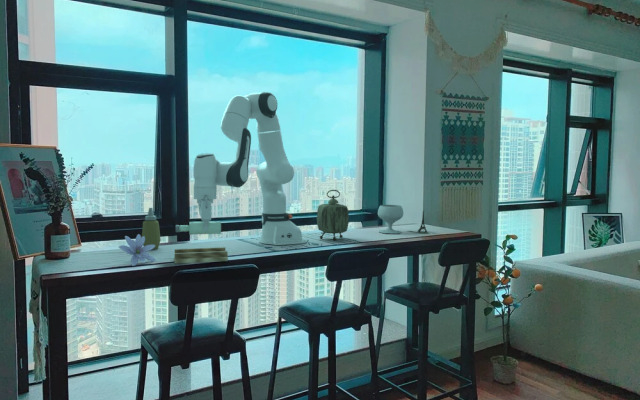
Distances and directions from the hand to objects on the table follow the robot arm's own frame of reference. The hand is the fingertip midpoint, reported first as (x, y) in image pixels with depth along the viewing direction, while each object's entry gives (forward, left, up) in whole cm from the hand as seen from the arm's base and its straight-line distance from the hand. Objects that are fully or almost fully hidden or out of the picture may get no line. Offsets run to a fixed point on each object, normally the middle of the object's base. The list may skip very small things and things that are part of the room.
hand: (205, 229), depth 193 cm
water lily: (+25, +1, -12) cm, 28 cm away
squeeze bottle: (+22, -28, -12) cm, 37 cm away
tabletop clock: (-64, -33, -12) cm, 73 cm away
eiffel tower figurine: (-121, -46, -13) cm, 130 cm away
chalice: (-102, -48, -12) cm, 114 cm away
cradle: (+2, 0, -12) cm, 12 cm away
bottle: (+3, 0, -2) cm, 3 cm away
